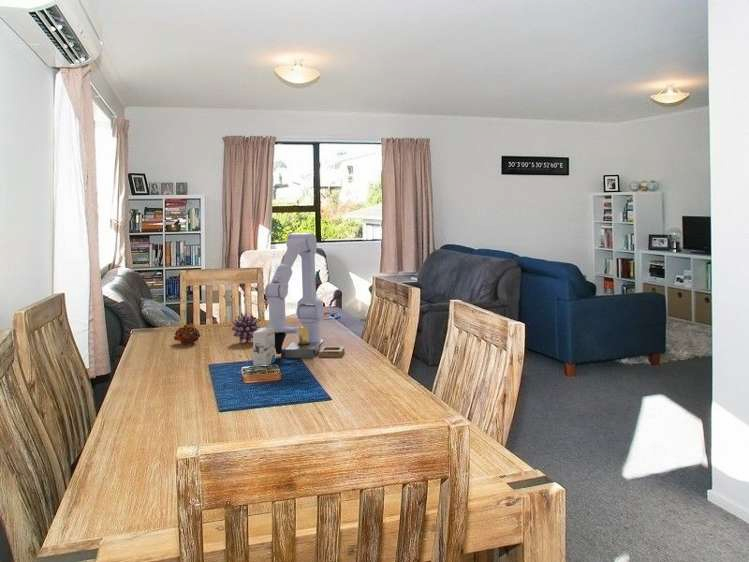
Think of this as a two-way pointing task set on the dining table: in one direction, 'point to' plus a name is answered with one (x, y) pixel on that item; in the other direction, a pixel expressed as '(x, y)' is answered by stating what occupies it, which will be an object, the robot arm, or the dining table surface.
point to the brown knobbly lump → (187, 334)
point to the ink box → (263, 346)
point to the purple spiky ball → (245, 327)
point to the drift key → (283, 352)
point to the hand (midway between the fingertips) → (278, 353)
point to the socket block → (301, 350)
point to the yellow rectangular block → (303, 335)
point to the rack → (331, 352)
